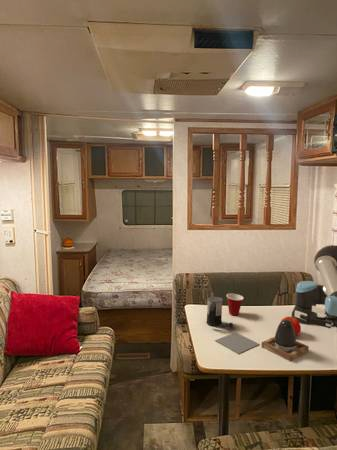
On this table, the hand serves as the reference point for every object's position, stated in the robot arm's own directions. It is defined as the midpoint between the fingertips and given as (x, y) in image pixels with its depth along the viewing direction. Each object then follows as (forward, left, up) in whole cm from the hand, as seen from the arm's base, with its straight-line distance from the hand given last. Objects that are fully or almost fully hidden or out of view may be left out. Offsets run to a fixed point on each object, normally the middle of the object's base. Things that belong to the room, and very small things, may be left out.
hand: (303, 310), depth 148 cm
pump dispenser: (0, -9, -23) cm, 25 cm away
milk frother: (+7, -47, -23) cm, 53 cm away
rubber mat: (+15, -27, -23) cm, 38 cm away
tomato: (-17, -17, -23) cm, 34 cm away
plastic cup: (-12, -53, -23) cm, 59 cm away
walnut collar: (0, -9, -23) cm, 25 cm away
